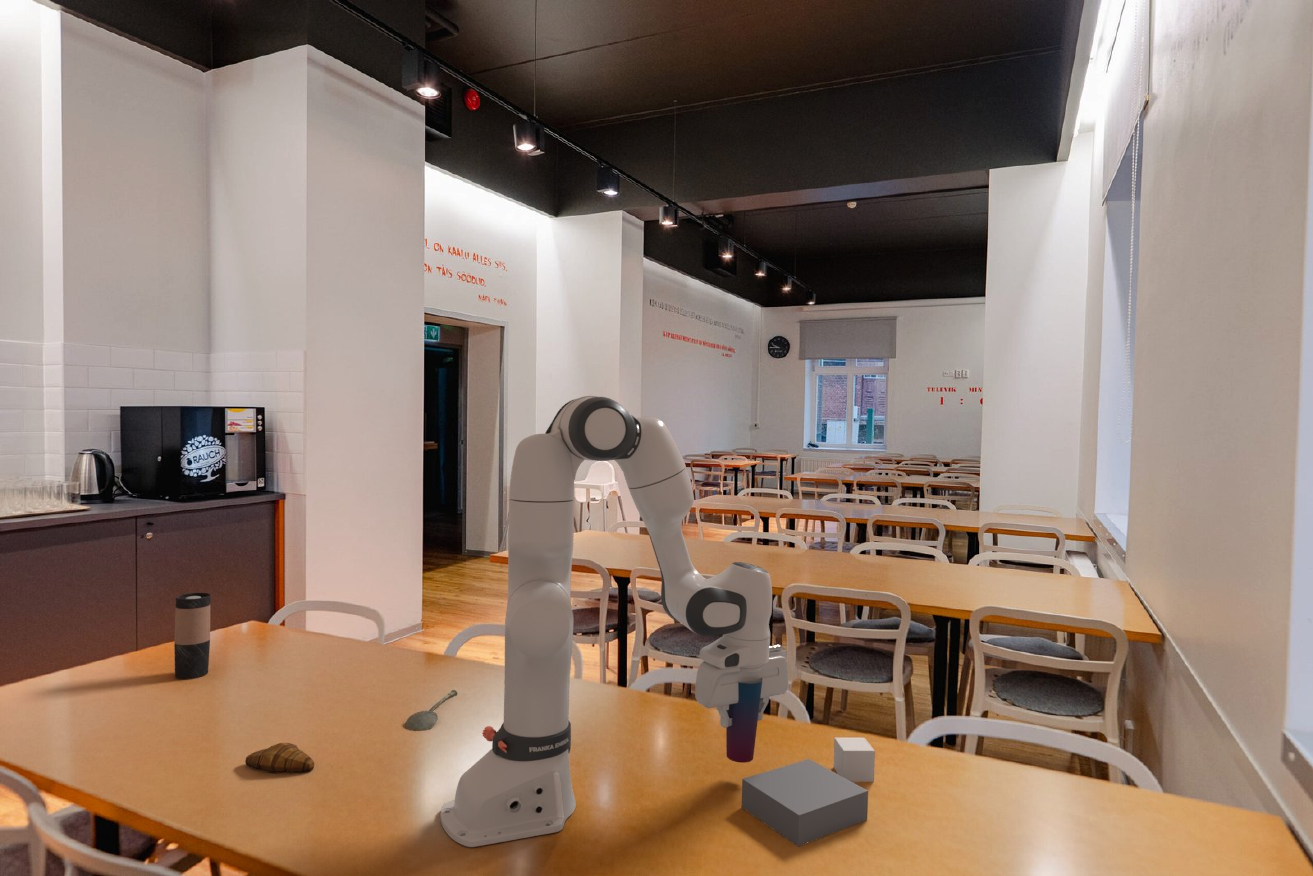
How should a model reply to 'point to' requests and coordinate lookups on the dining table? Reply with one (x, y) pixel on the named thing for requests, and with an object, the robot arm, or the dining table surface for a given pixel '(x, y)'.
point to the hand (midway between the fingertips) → (741, 723)
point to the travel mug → (192, 635)
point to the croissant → (280, 759)
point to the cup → (743, 723)
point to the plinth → (804, 801)
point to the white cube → (854, 759)
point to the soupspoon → (425, 717)
